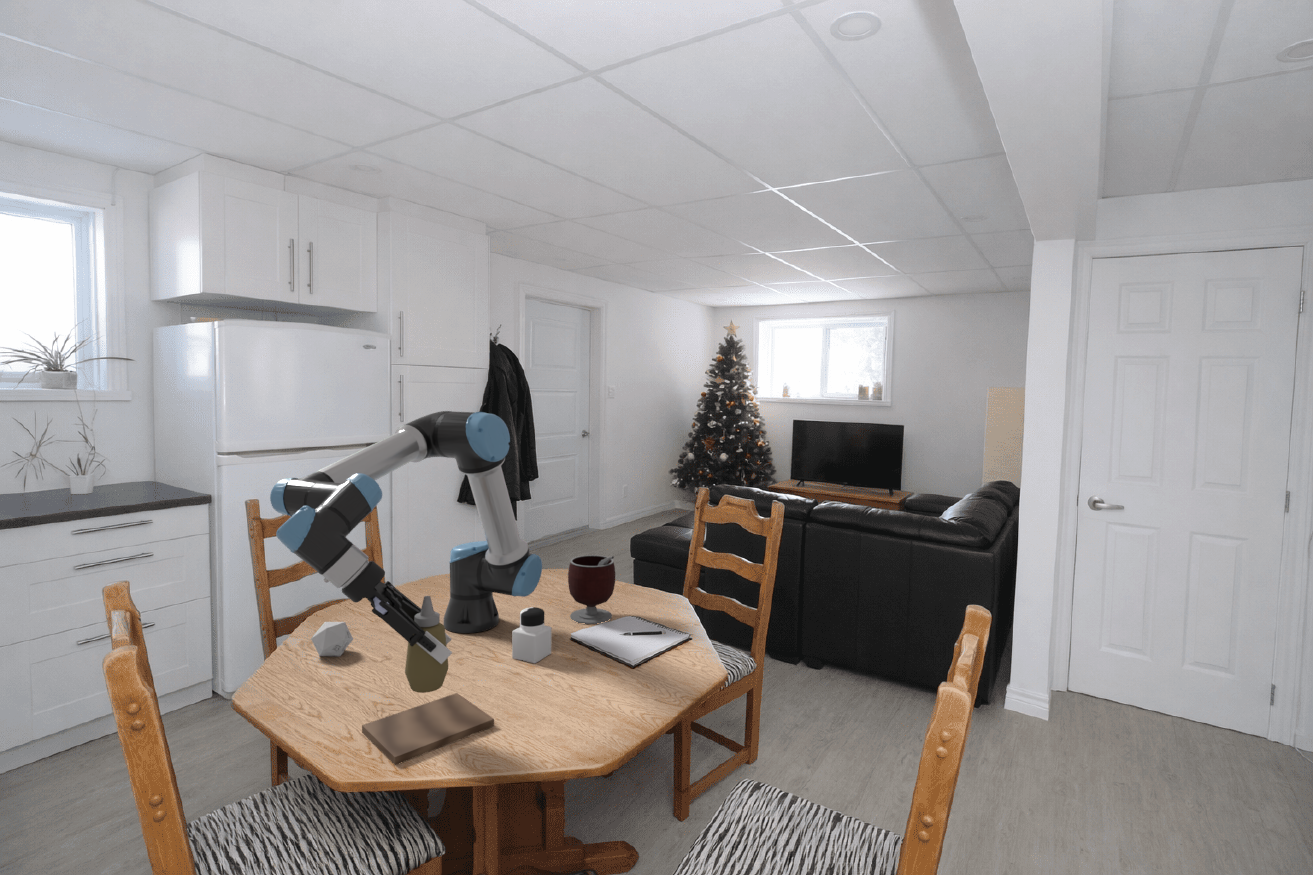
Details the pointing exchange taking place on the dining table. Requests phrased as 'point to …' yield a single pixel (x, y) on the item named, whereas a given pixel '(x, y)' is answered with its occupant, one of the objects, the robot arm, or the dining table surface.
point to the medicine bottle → (531, 636)
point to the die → (332, 639)
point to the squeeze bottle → (420, 664)
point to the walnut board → (426, 727)
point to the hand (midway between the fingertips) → (446, 650)
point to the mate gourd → (591, 586)
